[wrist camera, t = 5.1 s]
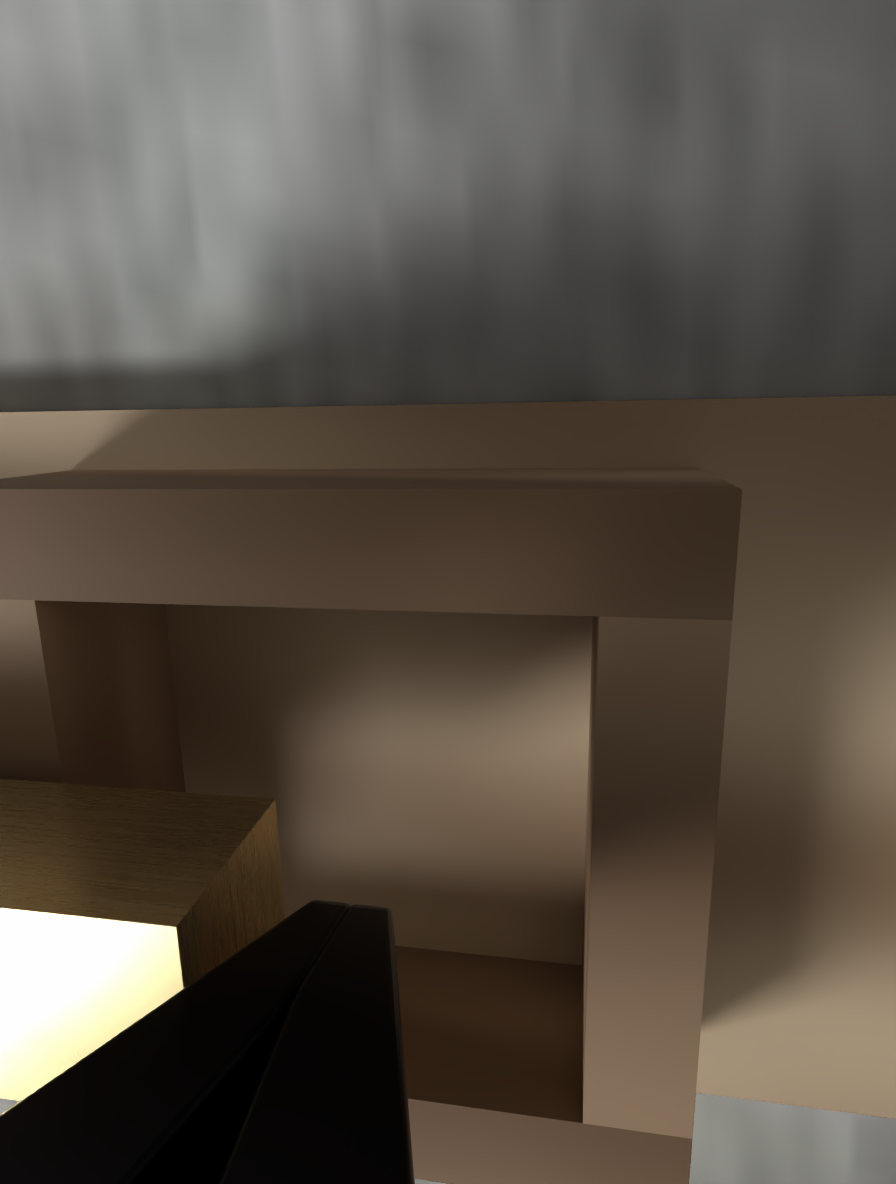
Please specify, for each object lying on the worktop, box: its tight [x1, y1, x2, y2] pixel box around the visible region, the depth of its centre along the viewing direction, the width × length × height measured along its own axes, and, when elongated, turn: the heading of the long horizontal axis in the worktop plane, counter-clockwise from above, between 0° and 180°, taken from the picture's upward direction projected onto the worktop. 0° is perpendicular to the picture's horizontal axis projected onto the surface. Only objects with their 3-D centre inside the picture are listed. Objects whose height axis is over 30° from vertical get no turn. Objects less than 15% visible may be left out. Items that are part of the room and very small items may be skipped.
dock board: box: [0, 395, 896, 1184], centre depth 10 cm, size 10×24×4 cm, turn 91°
